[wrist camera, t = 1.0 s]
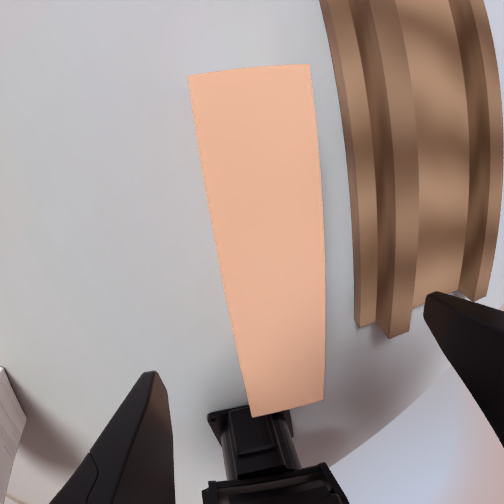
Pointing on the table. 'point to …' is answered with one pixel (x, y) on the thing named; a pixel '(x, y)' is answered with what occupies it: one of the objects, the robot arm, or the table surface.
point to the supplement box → (8, 430)
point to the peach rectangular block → (267, 225)
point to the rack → (418, 149)
